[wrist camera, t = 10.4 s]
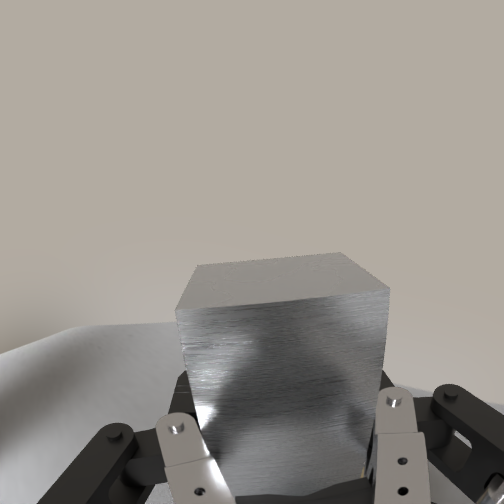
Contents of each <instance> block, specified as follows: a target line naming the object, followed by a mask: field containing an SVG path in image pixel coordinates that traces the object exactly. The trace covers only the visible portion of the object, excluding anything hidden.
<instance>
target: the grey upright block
mask: <svg viewBox="0 0 504 504" xmlns="http://www.w3.org/2000/svg"><path fill="white" fill-rule="evenodd" d="M389 296H390V288H389V287H388V286H387V285H385V284H384V283H382V282H381V281H380V280H378V279H377V278H376V277H374V276H373V275H371V274H370V273H369V272H367V271H366V270H365V269H363V268H362V267H360V266H359V265H358V264H356V263H355V262H353V261H352V260H351V259H349V258H348V257H346V256H345V255H344V254H342V253H340V252H338V253H328V254H317V255H306V256H296V257H285V258H274V259H263V260H252V261H240V262H230V263H218V264H206V265H197V267H196V269H195V271H194V273H193V275H192V277H191V279H190V281H189V283H188V285H187V287H186V289H185V291H184V293H183V295H182V297H181V299H180V301H179V303H178V305H177V307H176V309H175V313H176V319H177V325H178V330H179V335H180V340H181V346H182V351H183V355H184V360H185V365H186V370H187V374H188V379H189V383H190V388H191V392H192V396H193V400H194V405H195V409H196V413H197V417H198V421H199V425H200V428H201V432H202V436H203V440H204V442H205V445H206V447H207V449H208V451H209V454H210V456H213V458H214V460H215V462H216V464H217V466H218V468H219V470H220V472H221V474H222V476H223V478H224V480H225V482H226V484H227V486H228V488H229V490H230V492H231V494H232V496H233V498H234V500H235V496H246V495H261V494H276V495H289V496H306V495H309V494H312V493H314V492H317V491H319V490H322V489H325V488H327V487H329V486H332V485H334V484H337V483H342V482H346V481H351V480H355V479H359V478H361V474H362V470H363V466H364V462H365V457H366V453H367V450H368V446H369V441H370V437H371V432H372V427H373V422H374V415H375V410H376V406H377V400H378V394H379V388H380V382H381V375H382V368H383V360H384V352H385V343H386V334H387V322H388V311H389Z"/></svg>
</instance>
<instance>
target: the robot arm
mask: <svg viewBox="0 0 504 504" xmlns="http://www.w3.org/2000/svg"><path fill="white" fill-rule="evenodd" d="M455 430H456V431H458V432H459V433H460V434H461V435H463V436H464V437H465V438H466V439H468V440H469V441H470V443H471V445H472V449H471V448H470V447H469V446H467V445H466V444H465V443H464V442H462V441H461V440H460V439H459V438H457V437H456V436H455V435H454V433H455ZM427 459H428V460H429V461H430V462H431V463H432V464H433V465H434V466H435V467H436V468H437V469H438V470H439V471H441V472H442V473H443V474H444V475H445V476H446V477H447V478H448V479H449V480H450V481H451V482H452V483H454V484H455V485H456V486H457V487H458V488H459V489H460V490H461V491H462V492H463V493H464V494H465V495H467V496H468V497H469V498H470V499H471V500H472V501H473V502H474V503H475V504H504V415H503V414H501V413H500V412H498V411H497V410H495V409H494V408H492V407H491V406H489V405H488V404H486V403H485V402H483V401H482V400H480V399H478V398H477V397H475V396H474V395H472V394H471V393H469V392H468V391H466V390H465V389H463V388H462V387H460V386H458V385H454V384H445V385H442V386H439V387H437V388H436V389H435V391H434V394H433V397H420V398H415V397H412V394H411V393H410V392H409V391H407V390H406V389H403V388H400V387H395V386H394V385H393V383H392V382H391V381H390V379H389V378H388V376H387V375H386V374H385V372H384V371H383V370H382V375H381V382H380V388H379V394H378V400H377V406H376V410H375V415H374V422H373V427H372V432H371V437H370V441H369V446H368V450H367V453H366V457H365V465H364V476H363V478H359V479H355V480H351V481H346V482H342V483H337V484H334V485H332V486H329V487H327V488H325V489H322V490H319V491H317V492H314V493H312V494H309V495H306V496H289V495H276V494H261V495H246V496H235V500H234V498H233V496H232V494H231V492H230V490H229V488H228V486H227V484H226V482H225V480H224V478H223V476H222V474H221V472H220V470H219V468H218V466H217V464H216V462H215V460H214V458H213V456H210V454H209V451H208V449H207V447H206V445H205V442H204V440H203V436H202V432H201V428H200V425H199V421H198V417H197V413H196V409H195V405H194V400H193V396H192V392H191V388H190V383H189V379H188V374H187V370H185V371H184V372H183V373H182V374H181V375H180V376H179V377H178V380H177V384H176V387H175V391H174V394H173V398H172V401H171V405H170V408H169V412H168V415H165V416H163V417H162V418H161V419H160V420H159V421H158V422H157V424H156V428H153V429H150V430H145V431H140V432H133V429H132V428H131V427H130V426H128V425H127V424H123V423H112V424H109V425H106V426H104V427H103V428H101V429H100V430H99V431H98V433H97V434H96V435H95V436H94V437H93V438H92V440H91V441H90V442H89V443H88V444H87V445H86V447H85V448H84V449H83V450H82V451H81V452H80V454H79V455H78V456H77V457H76V458H75V459H74V461H73V462H72V463H71V464H70V465H69V466H68V468H67V469H66V470H65V471H64V472H63V473H62V475H61V476H60V477H59V478H58V479H57V481H56V482H55V483H54V484H53V485H52V486H51V488H50V489H49V490H48V491H47V492H46V493H45V495H44V496H43V497H42V498H41V499H40V500H39V502H38V503H37V504H145V502H146V500H147V498H148V497H149V495H150V493H151V491H152V490H153V488H154V486H155V484H159V483H165V482H168V484H169V487H170V490H171V493H172V497H173V500H174V503H175V504H436V503H433V502H431V499H430V484H429V472H428V462H427Z"/></svg>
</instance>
